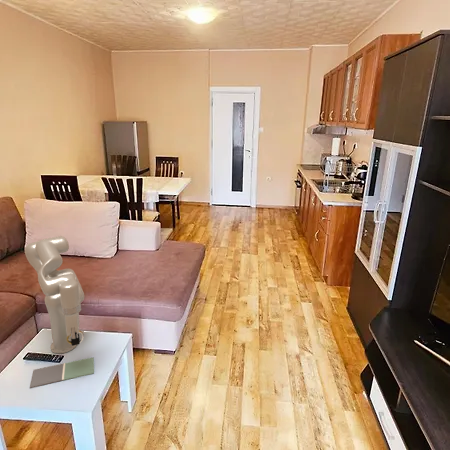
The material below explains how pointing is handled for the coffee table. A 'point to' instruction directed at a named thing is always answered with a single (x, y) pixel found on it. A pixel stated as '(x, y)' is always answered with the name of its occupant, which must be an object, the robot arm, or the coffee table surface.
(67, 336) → the ring
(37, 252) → the robot arm
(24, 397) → the coffee table surface
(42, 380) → the board
